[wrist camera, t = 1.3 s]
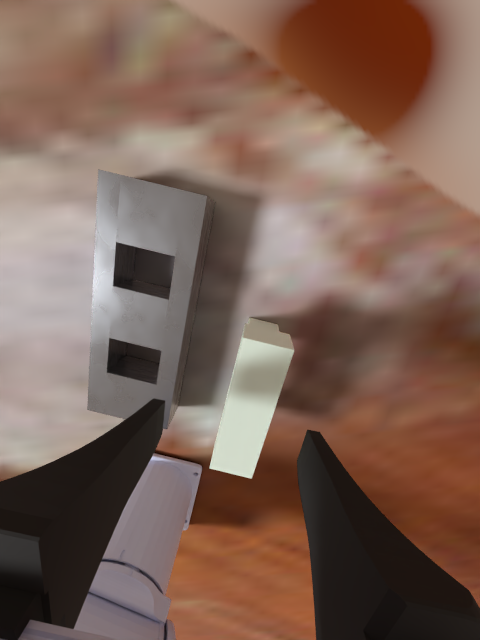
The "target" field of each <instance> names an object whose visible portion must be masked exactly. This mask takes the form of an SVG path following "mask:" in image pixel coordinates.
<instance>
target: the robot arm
mask: <svg viewBox="0 0 480 640" xmlns="http://www.w3.org/2000/svg"><path fill="white" fill-rule="evenodd" d="M164 411H165V400H160V399H155V398H153V399H152V400H150V401H149V402H148V403H147V404H145V405H144V406H143V407H142V408H140V409H139V410H138V411H136V412H135V413H134V414H132V415H131V416H130V417H128V418H127V419H126V420H124V421H123V422H121V423H120V424H119V425H117V426H116V427H114V428H113V429H111V430H110V431H108V432H107V433H105V434H104V435H102V436H100V437H99V438H97V439H96V440H94V441H92V442H91V443H89V444H87V445H85V446H83V447H82V448H80V449H78V450H76V451H74V452H72V453H70V454H68V455H66V456H64V457H61V458H59V459H57V460H55V461H53V462H51V463H48V464H46V465H44V466H41V467H39V468H37V469H34V470H32V471H29V472H27V473H24V474H21V475H19V476H16V477H13V478H10V479H7V480H4V481H1V482H0V640H176V636H175V628H174V624H173V622H172V621H171V620H168V619H167V615H168V611H169V607H170V603H171V599H170V598H168V597H166V596H165V595H166V591H167V587H168V583H169V579H170V576H171V572H172V568H173V564H174V561H175V557H176V553H177V549H178V546H179V542H180V538H181V534H182V531H183V530H187V529H188V526H189V522H190V517H191V513H192V509H193V505H194V501H195V497H196V493H197V489H198V485H199V480H200V476H201V472H202V466H201V465H199V464H196V463H192V462H188V461H184V460H180V459H176V458H172V457H168V456H164V455H159V454H155V453H154V452H155V450H156V447H157V445H158V442H159V440H160V438H161V435H162V431H163V421H164ZM297 470H298V484H299V490H300V495H301V501H302V507H303V512H304V518H305V524H306V529H307V535H308V541H309V549H310V559H311V570H312V582H313V595H314V609H315V625H316V640H480V608H479V606H478V605H477V603H476V601H475V599H474V598H473V596H472V595H471V593H470V591H469V590H468V589H466V588H465V587H464V586H463V585H461V584H460V583H459V582H458V581H456V580H455V579H454V578H453V577H451V576H450V575H449V574H448V573H446V572H445V571H444V570H443V569H441V568H440V567H439V566H438V565H437V564H435V563H434V562H433V561H432V560H431V559H430V558H428V557H427V556H426V555H425V554H424V553H423V552H422V551H421V550H419V549H418V548H417V547H416V546H415V545H414V544H413V543H412V542H411V541H410V540H408V539H407V538H406V537H405V536H404V535H403V534H402V533H401V532H400V531H399V530H398V529H397V528H396V527H395V526H394V525H393V524H392V523H391V522H390V521H389V520H388V519H387V518H386V517H385V516H384V515H383V514H382V513H381V512H380V511H379V509H378V508H377V507H376V506H375V505H374V504H373V503H372V502H371V501H370V499H369V498H368V497H367V496H366V495H365V494H364V492H363V491H362V490H361V489H360V487H359V486H358V485H357V484H356V482H355V481H354V480H353V479H352V477H351V476H350V475H349V473H348V472H347V471H346V469H345V468H344V467H343V465H342V464H341V463H340V461H339V460H338V458H337V457H336V455H335V454H334V453H333V451H332V450H331V448H330V447H329V445H328V444H327V442H326V441H325V439H324V438H323V436H322V435H321V433H320V432H316V431H311V430H307V432H306V435H305V438H304V441H303V444H302V447H301V450H300V454H299V457H298V460H297ZM195 472H196V473H195Z"/></svg>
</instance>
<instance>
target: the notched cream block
mask: <svg viewBox="0 0 480 640" xmlns="http://www.w3.org/2000/svg"><path fill="white" fill-rule="evenodd" d="M293 353H294V347H293V344H292V341H291V337H290V334H287V333H282V332H279V327H278V324H274V323H270V322H266V321H262V320H258V319H253V318H249V321H248V324H246V323H245V326H244V330H243V334H242V338H241V342H240V346H239V350H238V354H237V358H236V362H235V366H234V370H233V373H232V377H231V381H230V385H229V389H228V393H227V397H226V401H225V405H224V409H223V413H222V417H221V421H220V425H219V429H218V433H217V437H216V441H215V445H214V450H213V454H212V459H211V463H210V469H214V470H218V471H222V472H226V473H230V474H234V475H238V476H242V477H246V478H250V479H252V476H253V473H254V470H255V467H256V464H257V461H258V458H259V455H260V452H261V449H262V446H263V443H264V440H265V437H266V434H267V431H268V428H269V425H270V422H271V419H272V416H273V413H274V410H275V407H276V404H277V401H278V398H279V395H280V392H281V389H282V386H283V383H284V380H285V377H286V374H287V371H288V368H289V365H290V362H291V359H292V356H293Z"/></svg>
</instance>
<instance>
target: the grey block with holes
mask: <svg viewBox="0 0 480 640" xmlns="http://www.w3.org/2000/svg"><path fill="white" fill-rule="evenodd" d="M214 208H215V202H214V201H213V200H212V199H210V198H209V197H208V196H205V195H201V194H197V193H193V192H189V191H185V190H180V189H176V188H172V187H168V186H164V185H160V184H156V183H152V182H148V181H144V180H140V179H136V178H132V177H127V176H123V175H119V174H115V173H111V172H107V171H103V170H99V169H98V187H97V210H96V232H95V254H94V276H93V298H92V320H91V342H90V364H89V386H88V408H87V410H90V411H94V412H98V413H103V414H107V415H111V416H115V417H119V418H123V419H127V418H128V417H130V416H131V415H132V414H134V413H135V412H136V411H138V410H139V409H140V408H142V407H143V406H144V405H145V404H147V403H148V402H149V401H150V400H152V399H153V398H155V399H160V400H165V411H164V421H163V429H167V428H168V426H169V424H170V422H171V420H172V418H173V416H174V414H175V412H176V410H177V408H178V404H179V399H180V393H181V388H182V383H183V377H184V372H185V366H186V361H187V355H188V350H189V344H190V339H191V333H192V328H193V322H194V317H195V312H196V306H197V301H198V295H199V290H200V284H201V279H202V273H203V268H204V262H205V257H206V252H207V246H208V241H209V235H210V230H211V224H212V219H213V213H214ZM136 247H138V248H142V249H146V250H151V251H155V252H159V253H163V254H167V255H171V256H175V261H174V268H173V275H172V282H171V288H167V287H163V286H159V285H155V284H151V283H146V282H142V281H138V280H134V279H133V277H134V267H135V256H136ZM127 342H128V343H132V344H136V345H140V346H144V347H148V348H152V349H156V350H160V351H161V357H160V364H158V363H154V362H150V361H146V360H142V359H138V358H134V357H130V356H126V350H127Z"/></svg>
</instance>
